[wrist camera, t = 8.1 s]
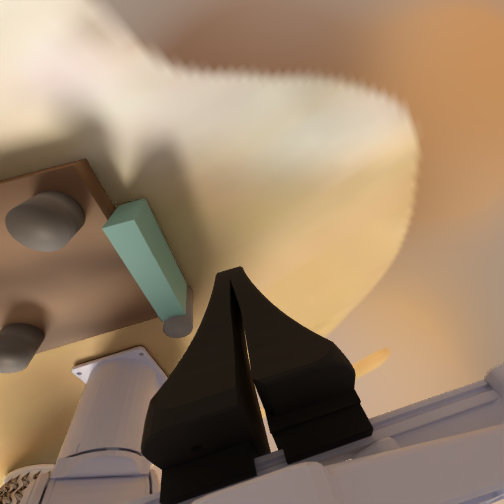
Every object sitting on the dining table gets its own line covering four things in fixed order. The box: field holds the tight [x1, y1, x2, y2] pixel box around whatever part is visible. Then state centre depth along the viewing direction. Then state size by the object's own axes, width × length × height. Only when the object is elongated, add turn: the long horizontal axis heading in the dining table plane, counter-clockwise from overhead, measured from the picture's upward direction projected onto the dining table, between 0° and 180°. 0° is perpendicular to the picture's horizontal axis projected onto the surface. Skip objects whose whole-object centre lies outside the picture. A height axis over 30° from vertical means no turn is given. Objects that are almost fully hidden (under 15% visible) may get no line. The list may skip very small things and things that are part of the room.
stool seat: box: [0, 159, 159, 373], centre depth 18 cm, size 14×14×4 cm
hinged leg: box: [102, 198, 193, 338], centre depth 19 cm, size 11×2×4 cm, turn 11°
